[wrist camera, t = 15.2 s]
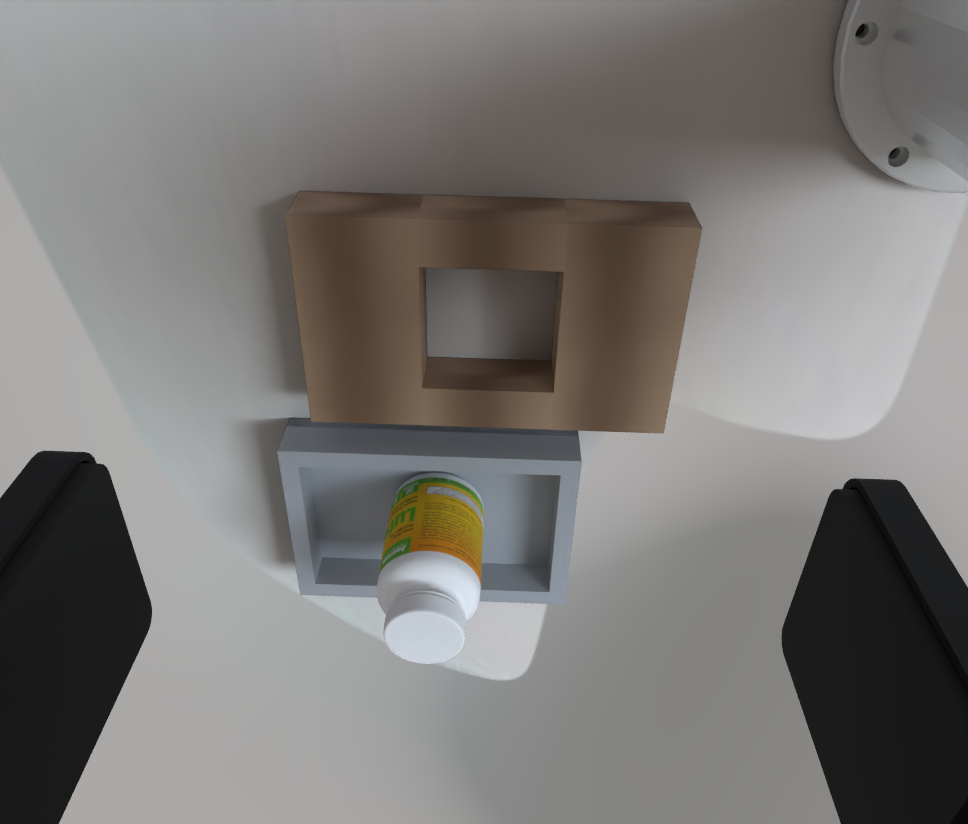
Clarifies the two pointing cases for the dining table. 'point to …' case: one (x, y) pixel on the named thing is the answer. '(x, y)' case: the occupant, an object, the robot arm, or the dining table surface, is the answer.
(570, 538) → the parts tray
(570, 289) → the socket holder
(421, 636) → the supplement bottle
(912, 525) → the robot arm
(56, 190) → the dining table surface
